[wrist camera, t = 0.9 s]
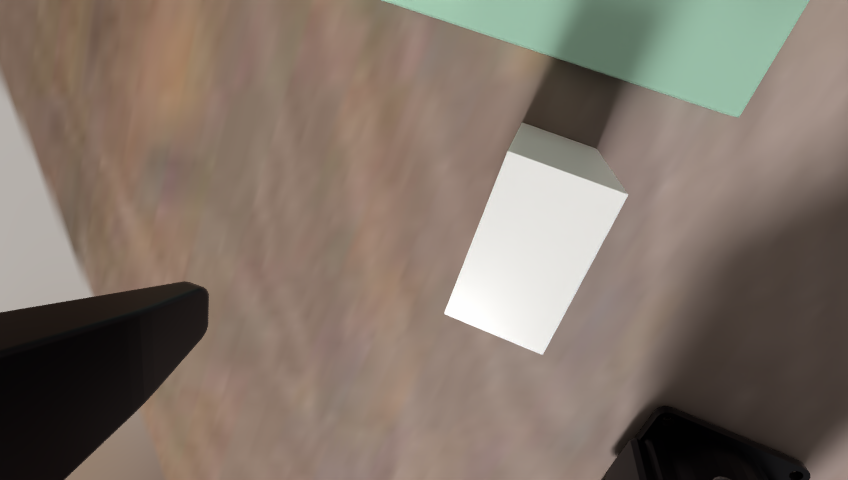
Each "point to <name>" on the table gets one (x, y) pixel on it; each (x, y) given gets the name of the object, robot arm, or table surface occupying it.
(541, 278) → the plug
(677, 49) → the board
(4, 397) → the robot arm
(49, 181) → the table surface
